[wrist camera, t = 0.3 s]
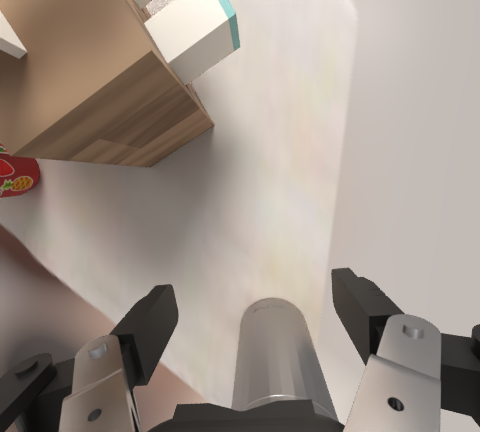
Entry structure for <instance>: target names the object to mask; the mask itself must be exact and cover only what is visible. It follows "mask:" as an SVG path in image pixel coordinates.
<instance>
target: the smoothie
mask: <svg viewBox="0 0 480 432" xmlns="http://www.w3.org/2000/svg"><path fill="white" fill-rule="evenodd" d="M38 179H39V168H38V164H37V162H36V160H35V158H27V157H15V156H10V155H9V153H8V152H7V150H6V149H5V148H4V146H3V145H2V143H1V142H0V198H3V197H10V196H17V195H21V194H23V193H25V192H27V191H28V190H29V189H31V188H33V187H34V186H35V185H36V184H37V181H38Z"/></svg>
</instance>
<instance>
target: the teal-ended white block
mask: <svg viewBox="0 0 480 432" xmlns="http://www.w3.org/2000/svg"><path fill="white" fill-rule="evenodd" d="M144 24H145V26H146V28H147V29H148V31H149V33H150V35H151V36H152V38H153V40H154V41H155V43H156V45H157V47H158V48H159V50H160V52H161V53H162V55H163V57H164V58H165V60H166V62H167V63H168V64H169V66H170V67H171V68H172V69H173V71H174V72H175V73H176V74H177V76H178V77H179V78H180V80H181V81H182V82H183V83H184V85H187V84H188V83H189V82H191V81H192V80H194V79H195V78H197V77H198V76H199V75H201V74H202V73H204V72H205V71H207V70H208V69H209V68H211V67H212V66H214V65H215V64H216V63H218V62H219V61H221V60H222V59H224V58H225V57H226V56H228V55H229V54H231V53H232V52H234V51H235V50H236V49H238V48H239V47H240V41H239V33H238V25H237V18H236V13H235V11H234V9H233V7H232V5H231V3H230V1H229V0H173V1H172V2H171V3H169V4H168V5H167V6H165V7H164V8H163V9H162V10H160V11H159V12H158V13H157V14H155V15H154V16H153V17H151V18H150V19H149V20H148V21H146V22H145V23H144Z"/></svg>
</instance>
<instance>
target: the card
mask: <svg viewBox="0 0 480 432" xmlns="http://www.w3.org/2000/svg"><path fill="white" fill-rule="evenodd" d="M0 50H2V51H4V52H6V53H8V54H10V55H12V56H14V57H17V58H19V59H20V58H21V57H22V56H23V55H24V54H26V53H27V51H26V49H25V47H24V46H23V44H22V43H21V41H20V40H19V38H18V37H17V35H16V34H15V32H14V31H13V29H12V28H11V26H10V25H9V23H8V22H7V20H6V18H5V17H4V15H3V14H2V12H1V11H0Z"/></svg>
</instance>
